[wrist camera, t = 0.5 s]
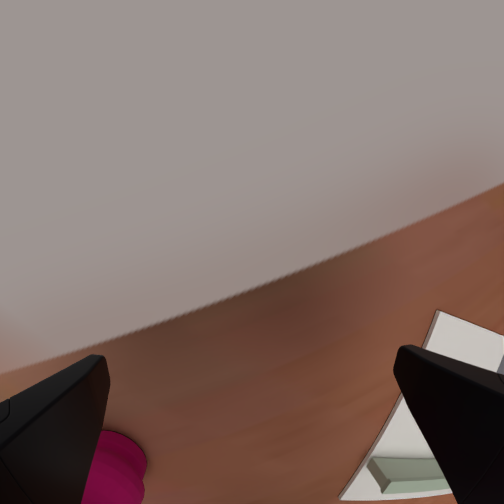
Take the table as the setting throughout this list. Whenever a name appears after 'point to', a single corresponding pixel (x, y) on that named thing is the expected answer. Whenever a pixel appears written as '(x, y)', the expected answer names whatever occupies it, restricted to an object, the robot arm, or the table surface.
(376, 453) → the card
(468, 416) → the robot arm
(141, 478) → the pepper mill
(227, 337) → the table surface
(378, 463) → the hinged panel
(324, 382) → the table surface
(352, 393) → the table surface
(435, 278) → the table surface
